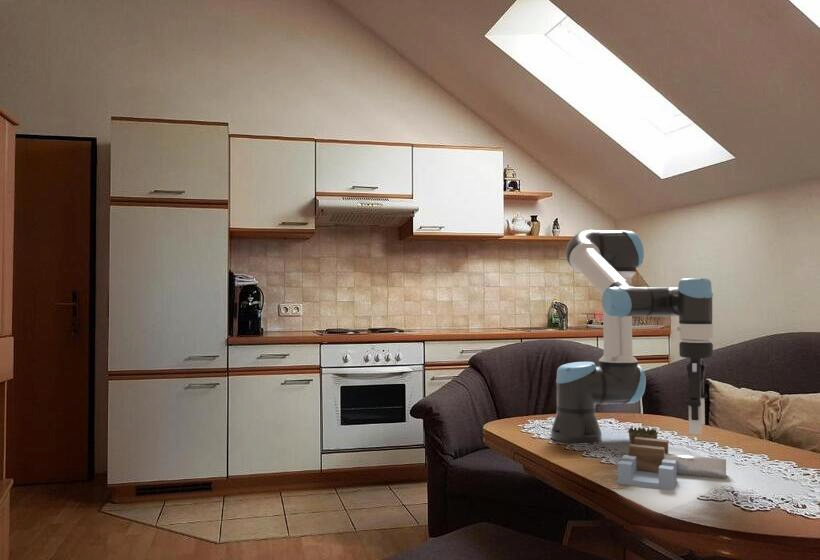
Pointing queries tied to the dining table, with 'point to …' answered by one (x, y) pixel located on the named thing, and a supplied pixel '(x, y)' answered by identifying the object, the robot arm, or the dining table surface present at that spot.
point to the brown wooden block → (648, 453)
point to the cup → (641, 433)
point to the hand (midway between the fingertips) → (697, 428)
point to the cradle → (647, 474)
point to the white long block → (699, 466)
